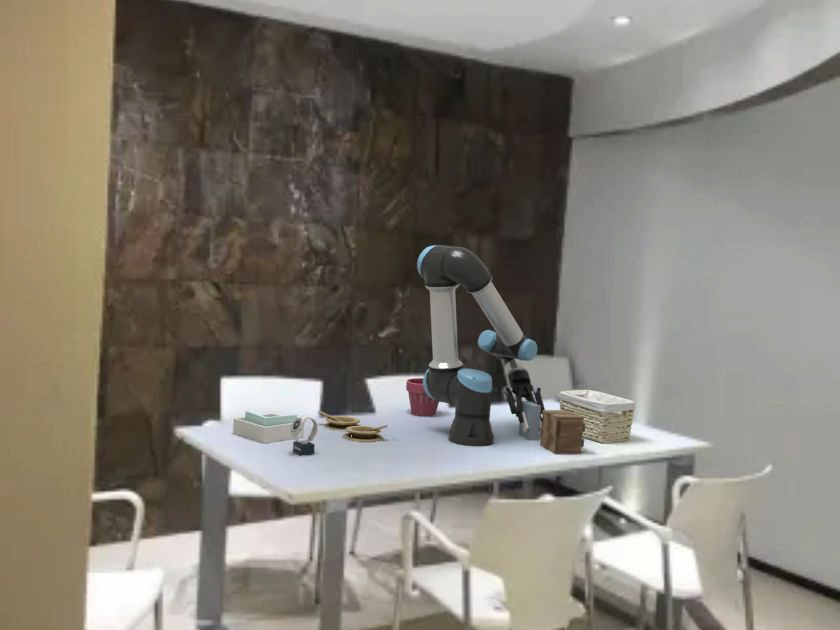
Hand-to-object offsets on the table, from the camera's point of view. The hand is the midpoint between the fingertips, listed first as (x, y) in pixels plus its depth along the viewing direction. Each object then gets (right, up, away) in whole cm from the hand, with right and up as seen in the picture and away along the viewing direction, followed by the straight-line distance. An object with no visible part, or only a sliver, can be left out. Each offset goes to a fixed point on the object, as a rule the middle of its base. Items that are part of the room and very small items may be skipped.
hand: (533, 430), depth 314 cm
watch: (-74, -2, -39) cm, 83 cm away
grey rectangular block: (-1, -3, +4) cm, 5 cm away
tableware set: (-62, -1, -5) cm, 62 cm away
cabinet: (+7, -5, -12) cm, 15 cm away
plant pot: (-38, +2, +33) cm, 50 cm away
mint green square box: (-87, 0, -18) cm, 89 cm away
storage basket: (+23, -4, +14) cm, 27 cm away
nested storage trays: (-88, +1, -18) cm, 90 cm away
